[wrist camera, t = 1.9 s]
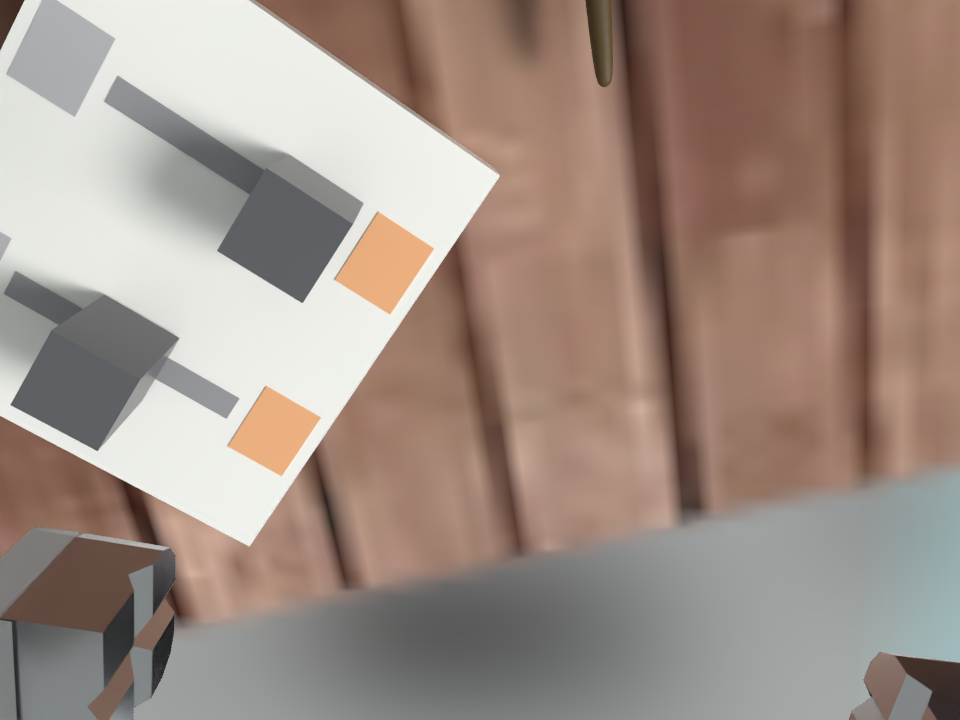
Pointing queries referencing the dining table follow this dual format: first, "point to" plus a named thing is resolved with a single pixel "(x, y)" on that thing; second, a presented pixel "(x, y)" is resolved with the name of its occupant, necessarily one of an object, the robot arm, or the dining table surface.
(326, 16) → the dining table surface
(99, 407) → the block
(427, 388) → the dining table surface
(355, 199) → the block
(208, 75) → the breaker panel
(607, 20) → the kendama
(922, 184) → the dining table surface
